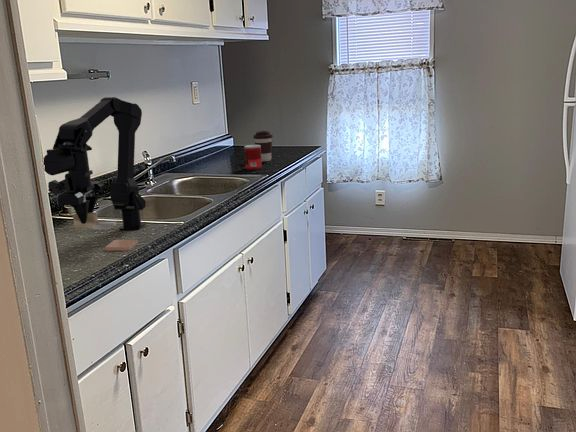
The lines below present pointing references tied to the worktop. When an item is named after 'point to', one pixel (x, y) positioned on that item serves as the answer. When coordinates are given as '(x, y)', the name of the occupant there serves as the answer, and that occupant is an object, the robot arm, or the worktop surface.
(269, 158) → the coffee cup
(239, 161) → the worktop surface
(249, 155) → the canned food
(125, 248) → the tile
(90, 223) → the turner
